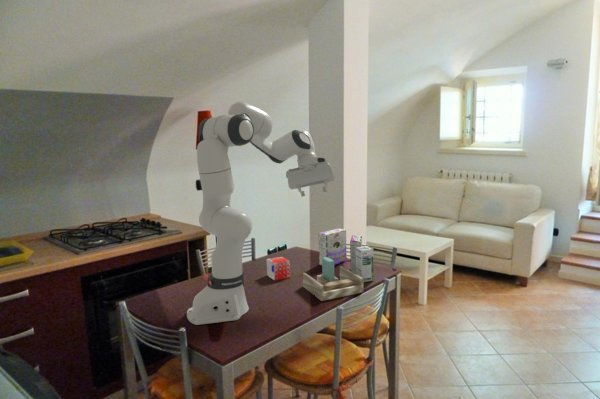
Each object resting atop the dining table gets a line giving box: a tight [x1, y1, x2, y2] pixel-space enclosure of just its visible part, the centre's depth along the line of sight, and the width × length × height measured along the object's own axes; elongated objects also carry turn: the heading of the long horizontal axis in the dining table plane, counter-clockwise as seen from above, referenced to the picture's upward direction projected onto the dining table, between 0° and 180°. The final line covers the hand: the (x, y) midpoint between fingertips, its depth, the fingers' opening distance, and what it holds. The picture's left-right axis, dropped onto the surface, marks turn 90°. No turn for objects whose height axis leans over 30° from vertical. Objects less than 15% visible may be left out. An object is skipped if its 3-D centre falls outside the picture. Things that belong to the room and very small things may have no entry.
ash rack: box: [302, 266, 364, 302], centre depth 175 cm, size 19×17×6 cm
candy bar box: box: [349, 234, 363, 274], centre depth 194 cm, size 11×5×16 cm, turn 168°
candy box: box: [318, 227, 348, 267], centre depth 208 cm, size 14×6×16 cm, turn 130°
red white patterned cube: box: [266, 256, 291, 281], centre depth 192 cm, size 8×8×8 cm
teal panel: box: [321, 257, 335, 282], centre depth 178 cm, size 2×6×12 cm, turn 24°
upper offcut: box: [322, 279, 353, 292], centre depth 171 cm, size 12×4×2 cm, turn 110°
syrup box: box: [356, 245, 374, 283], centre depth 185 cm, size 6×6×14 cm
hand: (314, 193), depth 179 cm, fingers open, 8 cm apart
